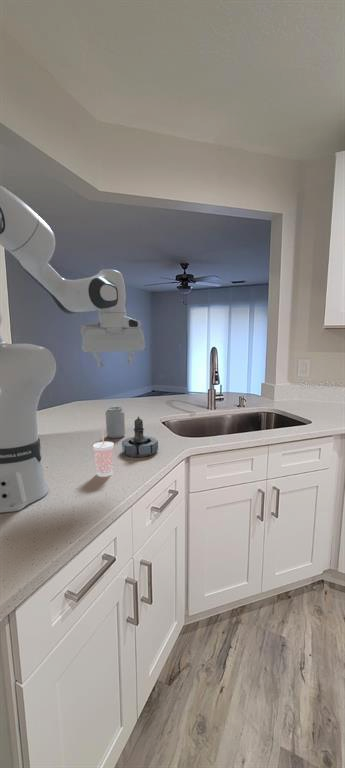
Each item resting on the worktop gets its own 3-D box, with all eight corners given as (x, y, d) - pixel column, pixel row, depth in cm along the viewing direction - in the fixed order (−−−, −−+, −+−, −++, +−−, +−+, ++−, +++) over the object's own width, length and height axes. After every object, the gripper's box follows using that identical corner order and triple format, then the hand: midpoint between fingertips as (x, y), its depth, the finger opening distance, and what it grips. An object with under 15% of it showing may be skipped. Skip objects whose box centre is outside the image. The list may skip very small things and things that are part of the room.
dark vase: (145, 452, 116) (144, 418, 115) (128, 451, 117) (127, 418, 116) (149, 447, 122) (148, 414, 120) (133, 446, 123) (132, 414, 121)
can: (127, 433, 143) (125, 405, 142) (122, 439, 136) (121, 409, 134) (109, 433, 144) (108, 406, 142) (104, 438, 136) (103, 409, 135)
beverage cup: (93, 471, 102) (90, 426, 101) (113, 468, 105) (111, 424, 103) (96, 479, 97) (93, 431, 95) (117, 475, 99) (115, 429, 97)
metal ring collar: (127, 459, 112) (127, 448, 112) (119, 448, 123) (119, 438, 123) (161, 454, 116) (161, 443, 116) (151, 444, 128) (151, 434, 127)
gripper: (81, 322, 103) (83, 367, 105) (145, 322, 110) (147, 364, 112) (78, 323, 109) (81, 366, 110) (140, 323, 116) (141, 363, 118)
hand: (115, 365), depth 111 cm, fingers open, 8 cm apart
